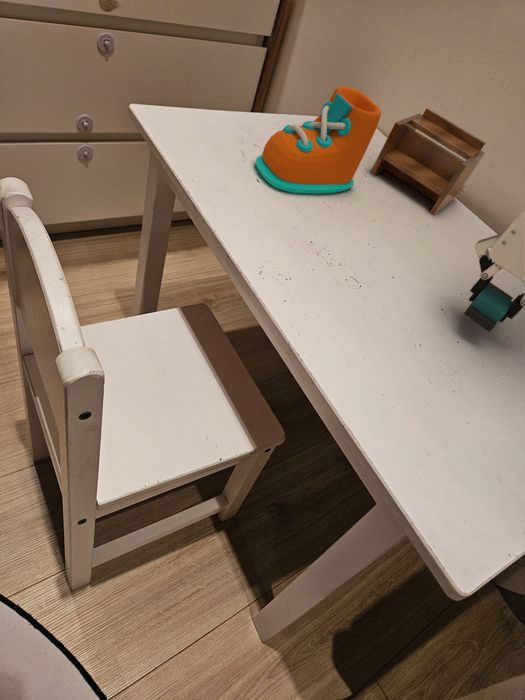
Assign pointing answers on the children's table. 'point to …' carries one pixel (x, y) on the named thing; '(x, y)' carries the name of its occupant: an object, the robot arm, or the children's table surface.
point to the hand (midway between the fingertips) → (488, 306)
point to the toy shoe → (322, 146)
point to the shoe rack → (430, 156)
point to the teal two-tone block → (489, 307)
